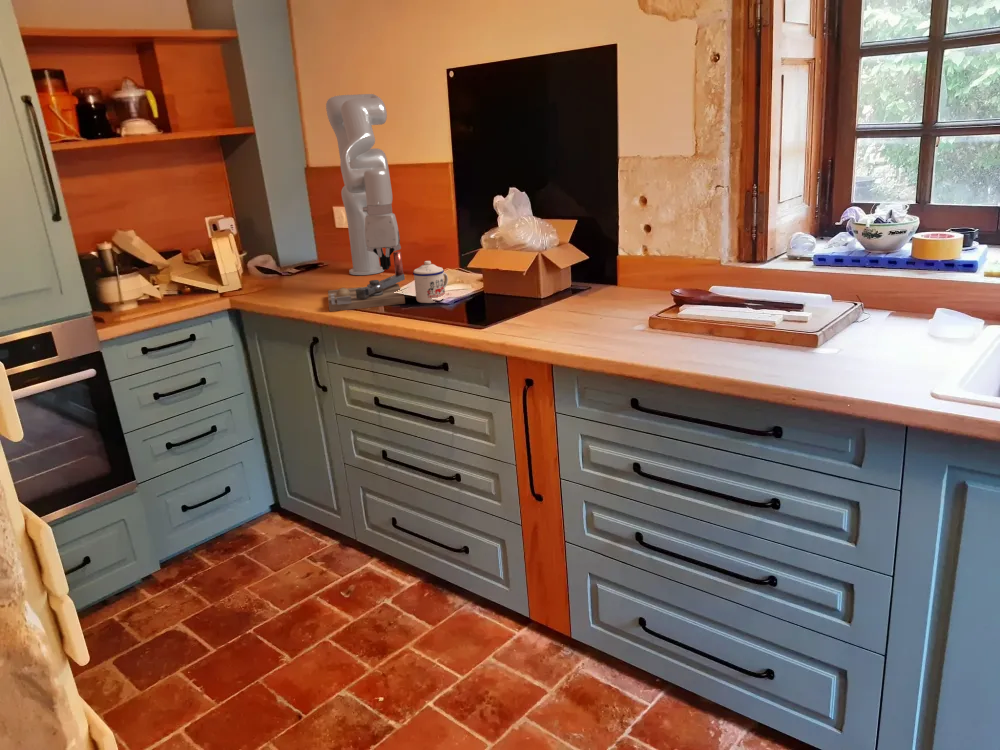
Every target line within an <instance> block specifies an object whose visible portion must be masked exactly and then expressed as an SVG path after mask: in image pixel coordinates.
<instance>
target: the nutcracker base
mask: <svg viewBox="0 0 1000 750" xmlns="http://www.w3.org/2000/svg"><path fill="white" fill-rule="evenodd" d="M379 281H380V280H379V279H372V280H369V281H368V282H369V284H371V285H375V284H379ZM365 287H366V286H361V287H350V288H347V289H348V290H349V292H350V296H344V297H337V296H336V293H337V291H338V290H339V289H332V290H331V289H329V290H327V292H328V293H327V295H328V296H327V298H328V299H327V300H328V310H329V312H338V311H347V310H355V309H356V310H357V309H358V310H359V309H367V308H376V307H377V308H378V307H384V306H394V305H403V304H406V299H405V298H406V297H405V295H404V293H403V294H397V293H394V292H396V291H398V290H400V289H401V287H400V284H399V283H396V284H393V285H391V286H389V287H386V288H384V289H383V291H381V292H377V293H373V294H371V295H369V297H368V298H366V299H364V298H357V297H356V289H358V288H365Z"/></svg>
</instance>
